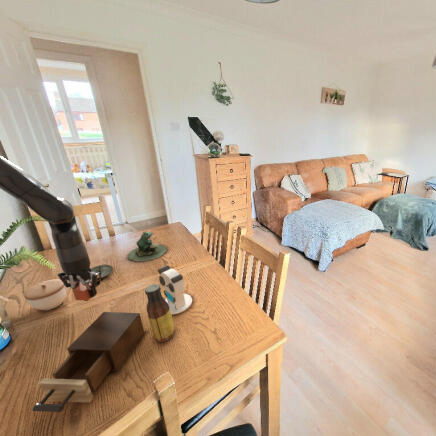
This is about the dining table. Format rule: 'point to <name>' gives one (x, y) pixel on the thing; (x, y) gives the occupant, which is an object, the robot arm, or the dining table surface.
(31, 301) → the trinket box
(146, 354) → the dining table surface
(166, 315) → the sauce bottle
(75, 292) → the block
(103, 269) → the lid
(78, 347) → the cabinet
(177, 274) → the panda figurine
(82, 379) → the drawer
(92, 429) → the dining table surface
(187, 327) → the dining table surface
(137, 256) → the frog figurine
